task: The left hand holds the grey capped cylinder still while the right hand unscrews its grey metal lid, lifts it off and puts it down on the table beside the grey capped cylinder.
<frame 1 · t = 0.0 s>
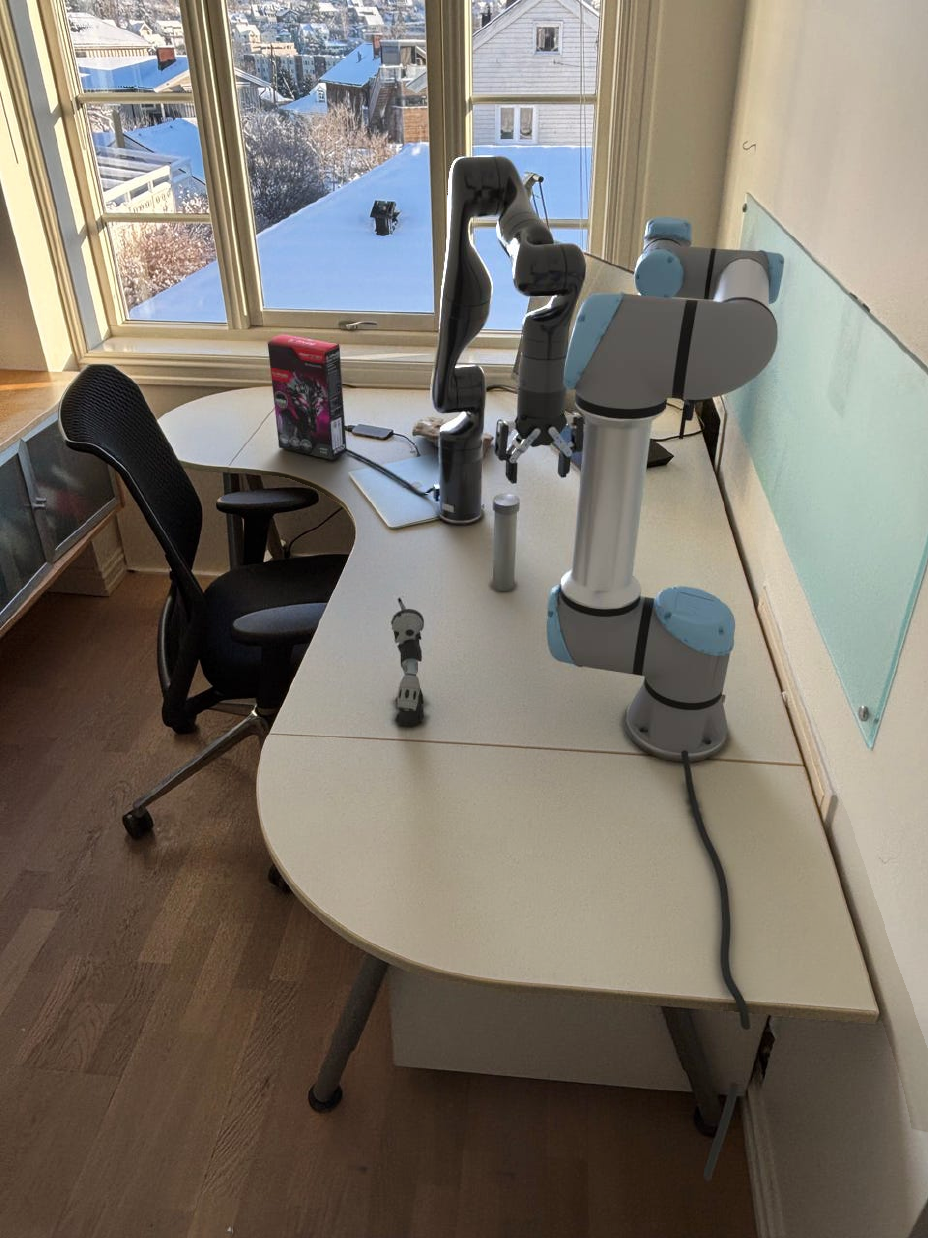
left hand: (537, 478, 150), 29 cm above the table, tool pointing down, fingers open, 8 cm apart
right hand: (643, 432, 170), 28 cm above the table, tool pointing down, fingers open, 13 cm apart
lid: (506, 501, 168), point 18 cm above the table, screwed on, not yet turned
grey capped cylinder: (503, 585, 178), on the table
stone: (448, 447, 233), on the table
robot: (410, 711, 147), on the table
graphics card box: (312, 451, 231), on the table
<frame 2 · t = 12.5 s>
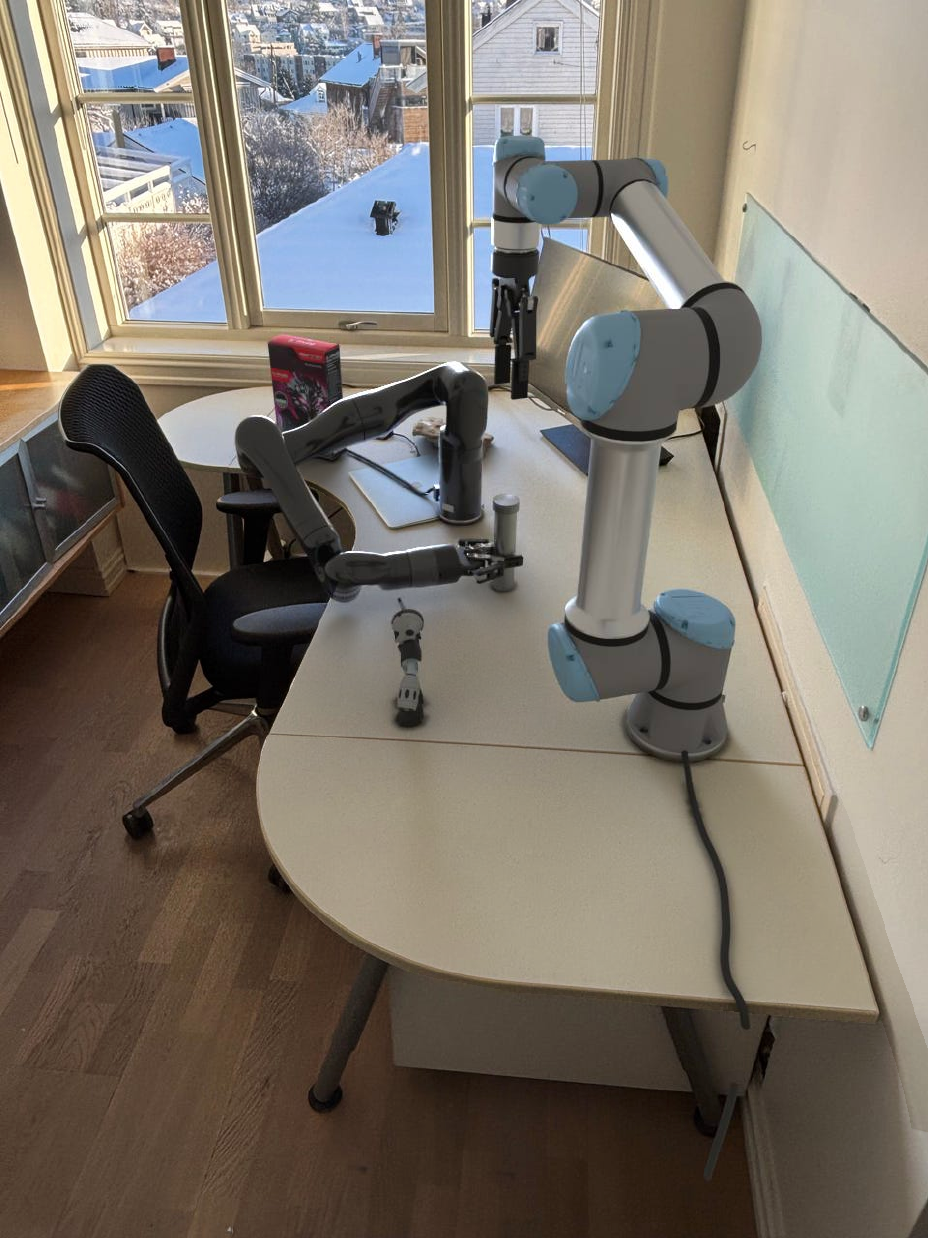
left hand: (517, 553, 175), 7 cm above the table, tool horizontal, fingers closed on grey capped cylinder, 4 cm apart
right hand: (510, 390, 156), 39 cm above the table, tool pointing down, fingers open, 7 cm apart
grey capped cylinder: (503, 585, 178), on the table, touching left hand
everything else where it was.
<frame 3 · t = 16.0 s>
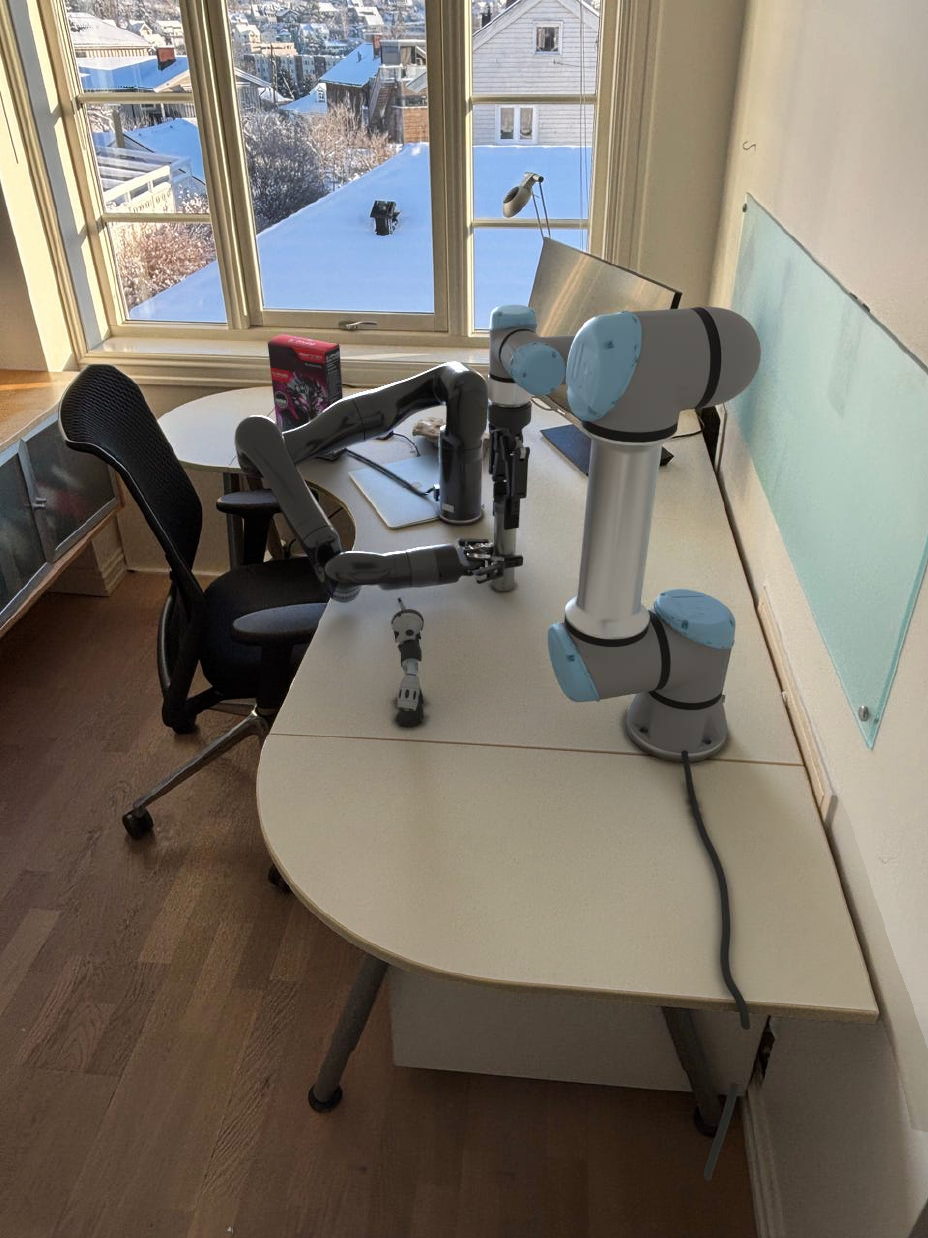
left hand: (517, 553, 175), 7 cm above the table, tool horizontal, fingers closed on grey capped cylinder, 4 cm apart
right hand: (505, 521, 170), 14 cm above the table, tool pointing down, fingers closed on lid, 5 cm apart
lid: (506, 501, 168), point 18 cm above the table, screwed on, not yet turned, touching right hand
grey capped cylinder: (503, 585, 178), on the table, touching left hand
everything else where it was.
when the right hand's fingers open (14 cm above the table, at t = 17.3 s): lid stays where it is, point 18 cm above the table.
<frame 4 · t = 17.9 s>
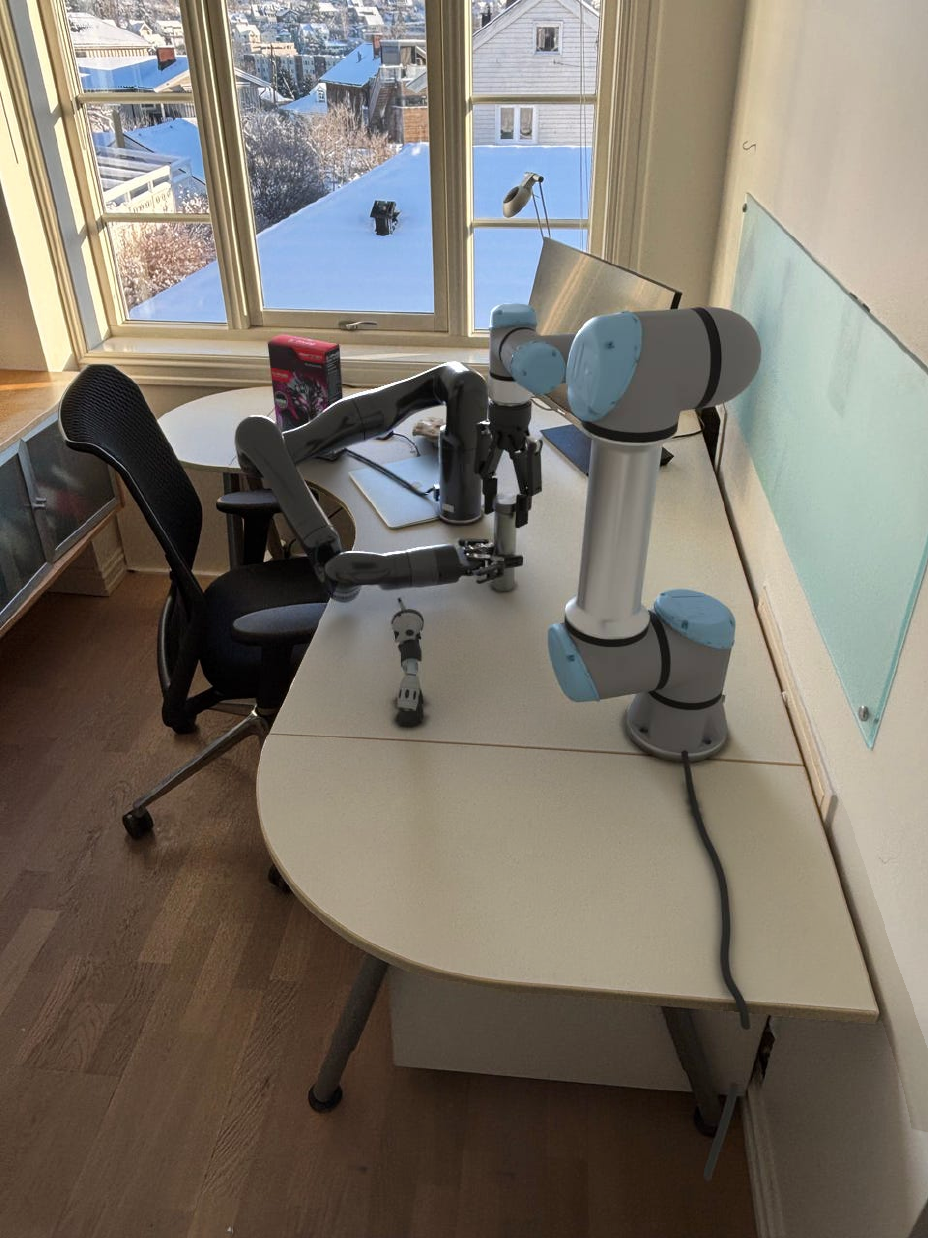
left hand: (517, 553, 175), 7 cm above the table, tool horizontal, fingers closed on grey capped cylinder, 4 cm apart
right hand: (505, 518, 170), 15 cm above the table, tool pointing down, fingers open, 7 cm apart
lid: (506, 500, 168), point 18 cm above the table, turned 86° so far, risen 0.3 cm, still on its thread
grey capped cylinder: (503, 585, 178), on the table, touching left hand
everything else where it was.
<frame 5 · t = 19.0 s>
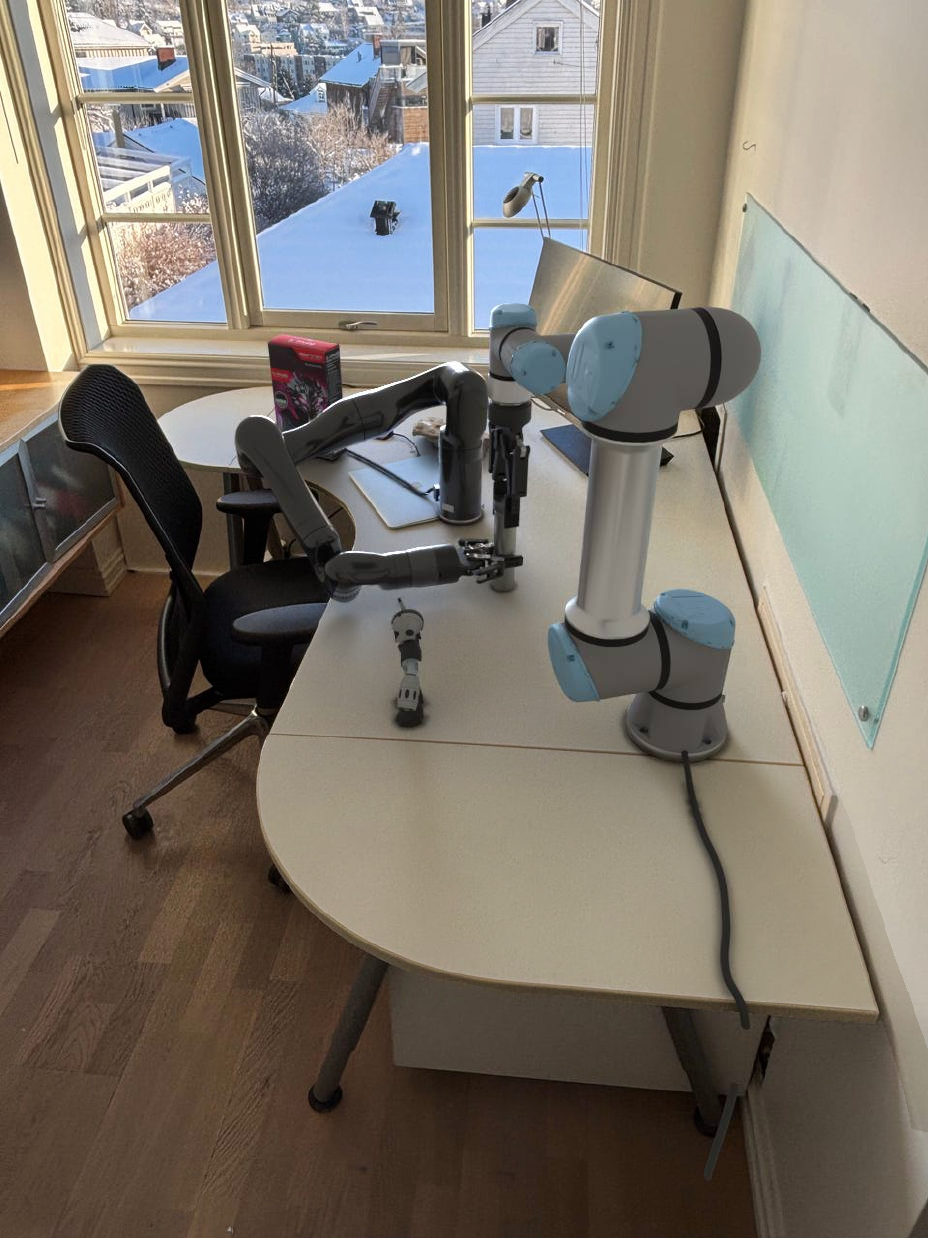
left hand: (517, 553, 175), 7 cm above the table, tool horizontal, fingers closed on grey capped cylinder, 4 cm apart
right hand: (505, 519, 170), 14 cm above the table, tool pointing down, fingers closed on lid, 5 cm apart
lid: (506, 499, 168), point 18 cm above the table, turned 86° so far, risen 0.2 cm, still on its thread, touching right hand
grey capped cylinder: (503, 585, 178), on the table, touching left hand
everything else where it was.
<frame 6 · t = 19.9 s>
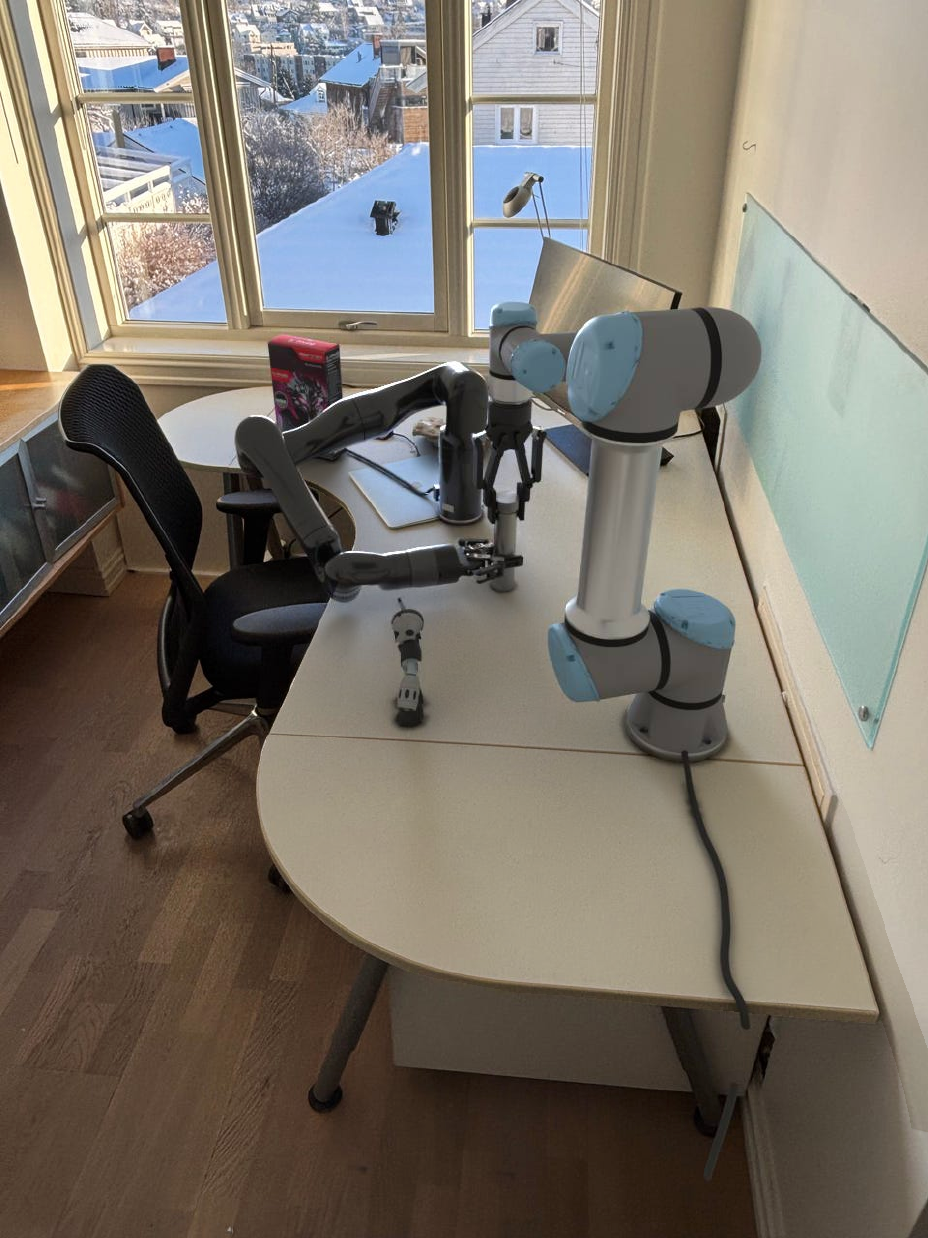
left hand: (517, 553, 175), 7 cm above the table, tool horizontal, fingers closed on grey capped cylinder, 4 cm apart
right hand: (505, 518, 170), 15 cm above the table, tool pointing down, fingers closed on lid, 5 cm apart
lid: (506, 498, 168), point 19 cm above the table, off its thread, touching right hand
grey capped cylinder: (503, 585, 178), on the table, touching left hand
everything else where it was.
when the right hand's fingers open (0 cm above the table, at t = 27.9 s): lid drops 3 cm, point 2 cm above the table.
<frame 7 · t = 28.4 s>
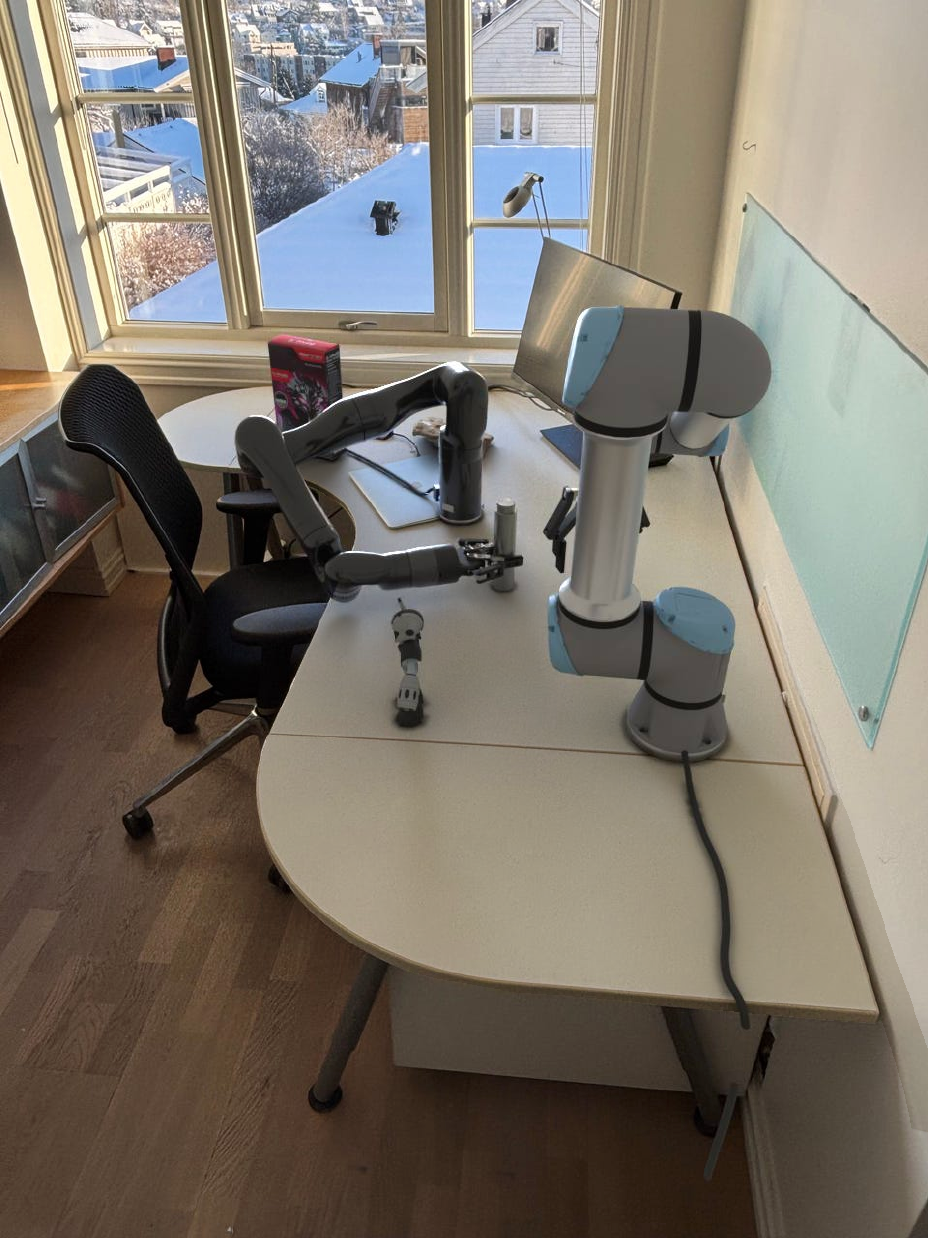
left hand: (517, 553, 175), 7 cm above the table, tool horizontal, fingers closed on grey capped cylinder, 4 cm apart
right hand: (593, 565, 173), 6 cm above the table, tool pointing down, fingers open, 13 cm apart
lid: (591, 582, 176), point 2 cm above the table, off its thread
grey capped cylinder: (503, 585, 178), on the table, touching left hand
everything else where it was.
when the left hand's fingers open (7 cm above the table, at t = 28.4 s): grey capped cylinder stays where it is, on the table.
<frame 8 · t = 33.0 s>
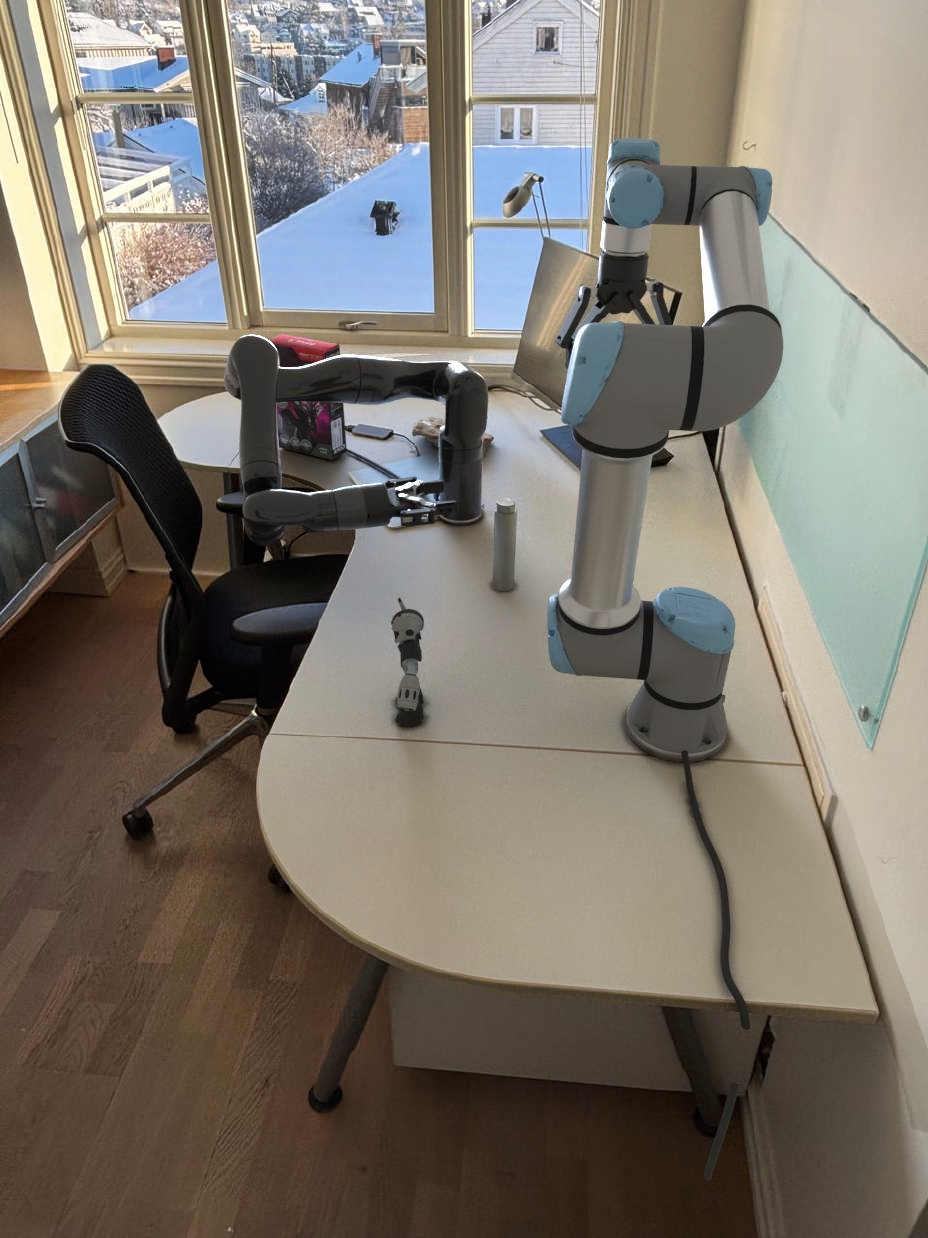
left hand: (450, 496, 164), 21 cm above the table, tool horizontal, fingers open, 8 cm apart
right hand: (611, 384, 154), 41 cm above the table, tool pointing down, fingers open, 13 cm apart
grey capped cylinder: (503, 585, 178), on the table
everything else where it was.
at the end: lid came off its thread; lid point 1.5 cm above the table; the left hand is holding nothing; the right hand is holding nothing; grey capped cylinder tilted 0°; grey capped cylinder moved 0.0 cm from its start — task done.
